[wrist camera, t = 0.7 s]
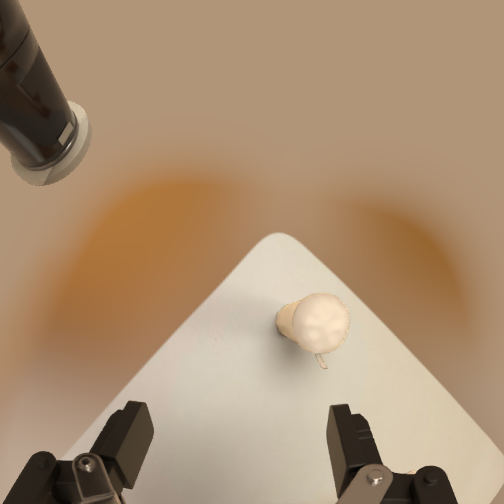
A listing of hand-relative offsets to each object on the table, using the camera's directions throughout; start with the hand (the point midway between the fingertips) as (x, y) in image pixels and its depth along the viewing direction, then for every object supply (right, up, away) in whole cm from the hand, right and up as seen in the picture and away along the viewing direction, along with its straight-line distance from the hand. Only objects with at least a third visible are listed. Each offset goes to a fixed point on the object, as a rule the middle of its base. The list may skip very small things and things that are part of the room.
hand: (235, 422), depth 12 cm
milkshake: (+4, 0, +18) cm, 19 cm away
